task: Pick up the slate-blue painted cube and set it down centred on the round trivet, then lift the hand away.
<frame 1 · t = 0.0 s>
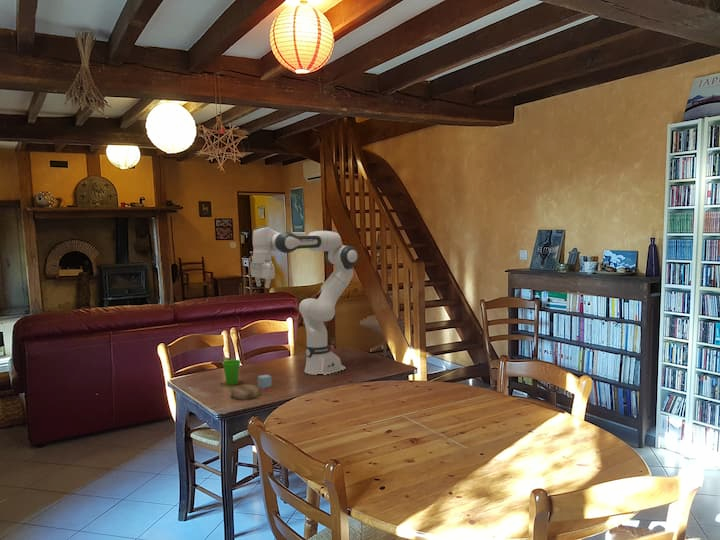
hand: (263, 287, 251), 48 cm above the table, tool pointing down, fingers open, 8 cm apart
trivet: (245, 395, 235), on the table
cup: (232, 384, 253), on the table
cube: (264, 386, 248), on the table
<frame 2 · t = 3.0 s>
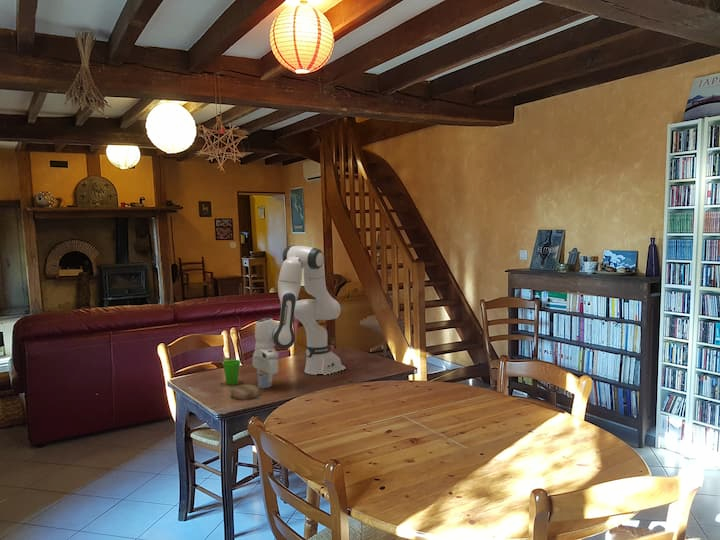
hand: (265, 379, 247), 4 cm above the table, tool pointing down, fingers open, 8 cm apart
nothing on the table moved.
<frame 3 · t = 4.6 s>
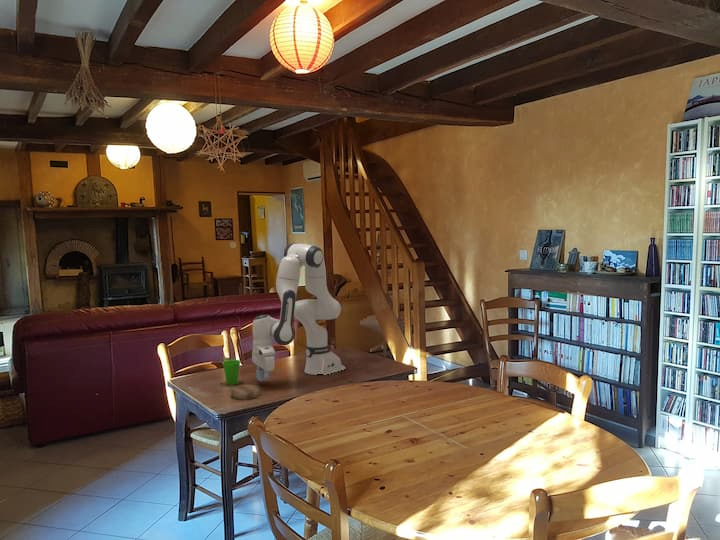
hand: (263, 375, 250), 5 cm above the table, tool pointing down, fingers closed on cube, 5 cm apart
cube: (263, 379, 250), point 3 cm above the table, touching gripper
everything else where it was.
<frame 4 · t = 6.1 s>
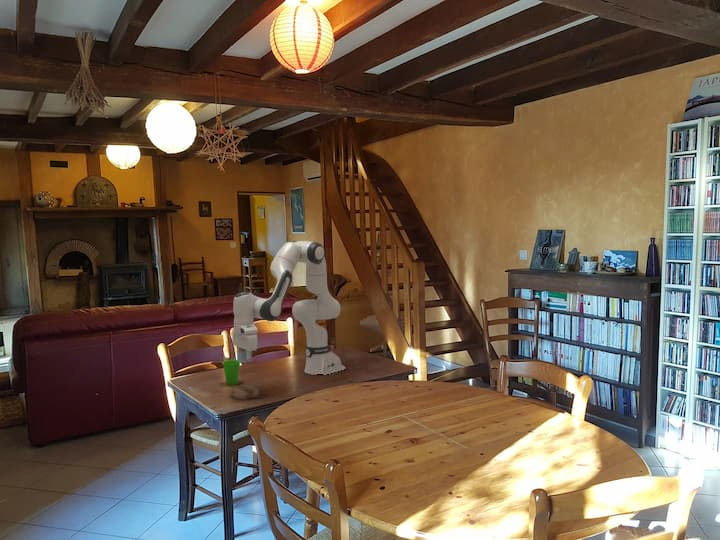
hand: (244, 357, 233), 18 cm above the table, tool pointing down, fingers closed on cube, 5 cm apart
cube: (244, 361, 233), point 16 cm above the table, touching gripper
everything else where it was.
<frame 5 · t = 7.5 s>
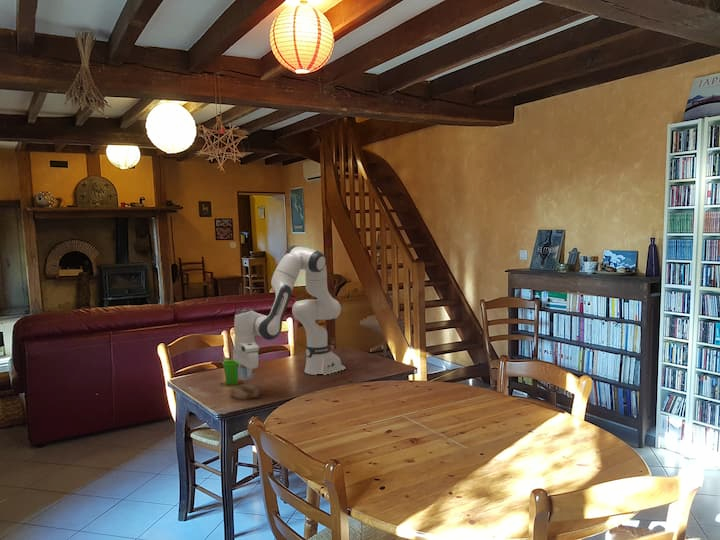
hand: (245, 374, 234), 10 cm above the table, tool pointing down, fingers closed on cube, 5 cm apart
cube: (245, 378, 234), point 8 cm above the table, touching gripper
everything else where it was.
when the fingers open (6 cm above the table, at t = 8.7 s): cube stays where it is, resting on trivet.
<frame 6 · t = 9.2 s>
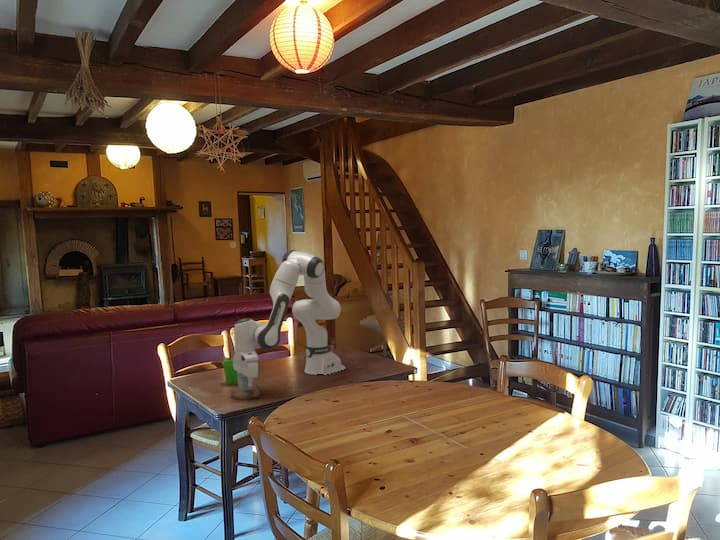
hand: (245, 383, 235), 6 cm above the table, tool pointing down, fingers open, 8 cm apart
cube: (245, 388, 235), point 3 cm above the table, touching trivet
everything else where it was.
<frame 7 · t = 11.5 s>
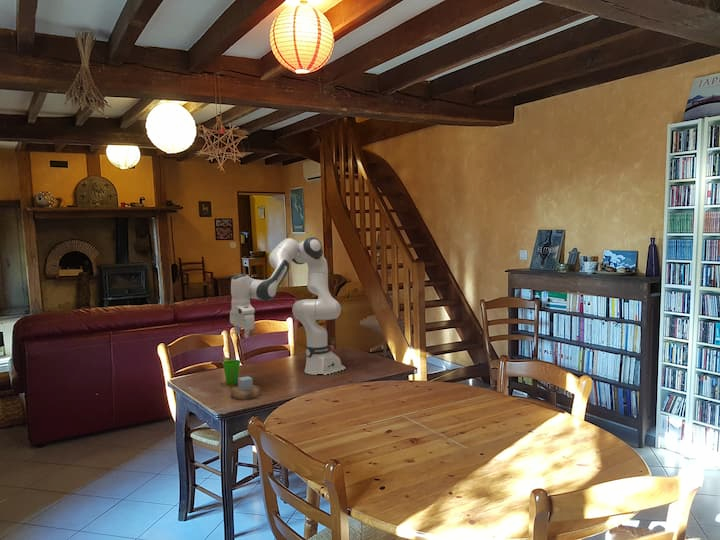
hand: (242, 335, 247), 25 cm above the table, tool pointing down, fingers open, 8 cm apart
nothing on the table moved.
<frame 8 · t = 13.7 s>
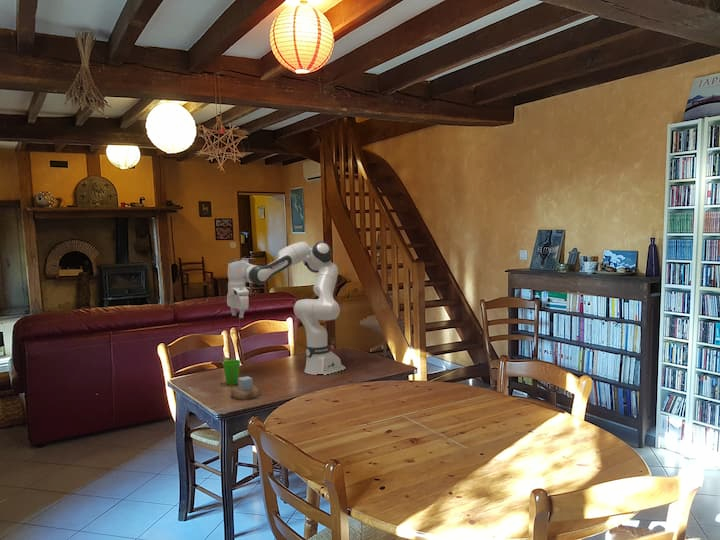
hand: (237, 316, 265), 31 cm above the table, tool pointing down, fingers open, 8 cm apart
nothing on the table moved.
at the end: cube inside the target area on the trivet (0.0 cm from its centre), point 3.0 cm above the trivet's base; cube tilted 0°; the gripper is holding nothing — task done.
